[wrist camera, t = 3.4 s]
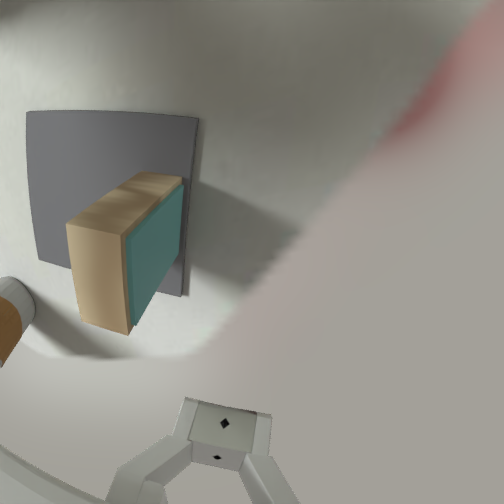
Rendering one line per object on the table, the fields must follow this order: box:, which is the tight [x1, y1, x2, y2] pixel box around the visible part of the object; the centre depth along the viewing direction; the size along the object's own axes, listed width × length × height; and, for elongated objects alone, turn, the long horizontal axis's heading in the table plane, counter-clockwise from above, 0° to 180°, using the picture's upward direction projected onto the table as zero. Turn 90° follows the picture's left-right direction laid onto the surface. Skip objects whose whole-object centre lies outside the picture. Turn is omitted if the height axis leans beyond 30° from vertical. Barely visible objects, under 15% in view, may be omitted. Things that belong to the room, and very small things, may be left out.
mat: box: [26, 110, 199, 297], centre depth 22 cm, size 15×14×1 cm
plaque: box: [66, 171, 184, 336], centre depth 18 cm, size 3×6×9 cm, turn 170°
